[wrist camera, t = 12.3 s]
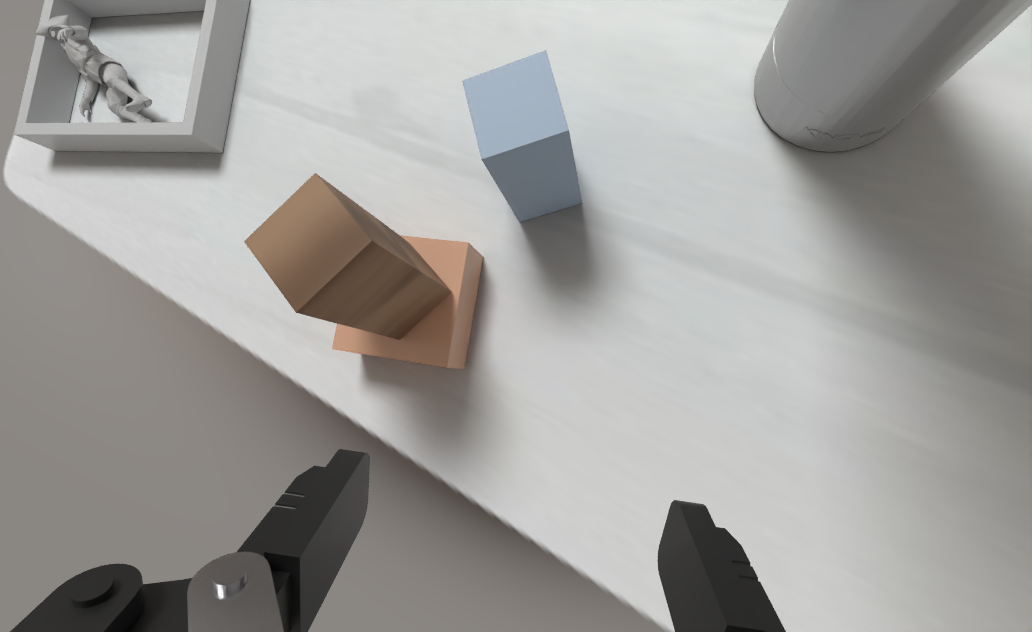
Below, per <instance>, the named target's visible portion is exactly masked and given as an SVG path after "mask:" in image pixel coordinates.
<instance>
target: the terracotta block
mask: <svg viewBox="0 0 1032 632" xmlns="http://www.w3.org/2000/svg"><path fill="white" fill-rule="evenodd" d="M401 237H402V238H404V239H405V240H406V241H408V242H409V243H410V244H411V245H412V246H413V247H414V249H415V250H416V251H417V252H418V253H419V254H420V255H421V257H422V258H423V259H424V260H425V261H426V262H427V264H428V265H429V266H430V267H431V268H432V269H433V270H434V272H435V273H436V274H437V275H438V276H439V277H440V279H441V280H442V281H443V282H444V283H445V284H446V285H447V287H448V288H449V289H450V290H451V291H452V292H451V293H450V294H449V295H448V296H447V297H446V298H444V299H443V300H442V301H441V302H440V303H439V304H438V305H437V306H436V307H435V308H434V309H433V310H432V311H431V312H429V313H428V314H427V315H426V316H425V317H424V318H423V319H422V320H421V321H420V322H419V323H418V324H417V325H415V326H414V327H413V328H412V329H411V330H410V331H409V332H408V333H407V334H406V335H405V336H404V337H403V338H402V339H400V340H397V339H394V338H390V337H386V336H382V335H379V334H375V333H371V332H367V331H364V330H360V329H356V328H352V327H349V326H345V325H341V324H337V327H336V332H335V337H334V342H333V348H332V349H335V350H341V351H347V352H353V353H359V354H365V355H371V356H377V357H384V358H390V359H396V360H402V361H408V362H414V363H420V364H426V365H432V366H438V367H444V368H455V369H465V364H466V358H467V352H468V346H469V340H470V334H471V328H472V322H473V316H474V310H475V304H476V298H477V292H478V286H479V280H480V274H481V268H482V262H483V256H482V255H481V254H480V253H479V252H478V251H477V250H476V249H475V248H473V247H472V246H471V245H470V244H469V243H467V242H457V241H448V240H438V239H429V238H419V237H410V236H401Z"/></svg>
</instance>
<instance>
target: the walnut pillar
mask: <svg viewBox="0 0 1032 632" xmlns="http://www.w3.org/2000/svg"><path fill="white" fill-rule="evenodd" d="M244 242H245V243H246V245H247V246H248V247H249V249H250V250H251V252H252V253H253V254H254V256H255V257H256V258H257V260H258V261H259V262H260V264H261V265H262V267H263V268H264V269H265V271H266V272H267V273H268V275H269V276H270V278H271V279H272V280H273V282H274V283H275V284H276V286H277V287H278V288H279V290H280V291H281V293H282V294H283V295H284V297H285V298H286V299H287V301H288V302H289V304H290V305H291V306H292V308H293V309H294V310H295V312H296V313H300V314H304V315H307V316H311V317H315V318H319V319H322V320H326V321H330V322H334V323H337V324H341V325H345V326H349V327H352V328H356V329H360V330H364V331H367V332H371V333H375V334H379V335H382V336H386V337H390V338H394V339H397V340H400V339H402V338H403V337H404V336H405V335H406V334H407V333H408V332H409V331H410V330H411V329H412V328H413V327H414V326H415V325H417V324H418V323H419V322H420V321H421V320H422V319H423V318H424V317H425V316H426V315H427V314H428V313H429V312H431V311H432V310H433V309H434V308H435V307H436V306H437V305H438V304H439V303H440V302H441V301H442V300H443V299H444V298H446V297H447V296H448V295H449V294H450V293H451V292H452V291H451V290H450V289H449V288H448V287H447V285H446V284H445V283H444V282H443V281H442V280H441V279H440V277H439V276H438V275H437V274H436V273H435V272H434V270H433V269H432V268H431V267H430V266H429V265H428V264H427V262H426V261H425V260H424V259H423V258H422V257H421V255H420V254H419V253H418V252H417V251H416V250H415V249H414V247H413V246H412V245H411V244H410V243H409V242H408V241H406V240H405V239H404V238H402V237H401V236H400V235H398V234H397V233H396V232H394V231H393V230H391V229H390V228H389V227H387V226H386V225H385V224H383V223H382V222H381V221H379V220H378V219H377V218H375V217H374V216H373V215H371V214H370V213H369V212H367V211H366V210H364V209H363V208H362V207H360V206H359V205H358V204H356V203H355V202H354V201H352V200H351V199H350V198H348V197H347V196H346V195H344V194H343V193H342V192H340V191H339V190H338V189H336V188H335V187H333V186H332V185H331V184H329V183H328V182H327V181H325V180H324V179H323V178H321V177H320V176H319V175H317V174H316V173H315V174H314V175H313V176H312V177H311V178H310V179H309V180H308V181H307V182H306V183H304V184H303V185H302V186H301V187H300V188H299V189H298V190H297V191H296V192H295V193H294V194H293V195H292V196H291V197H290V198H289V199H288V200H287V201H286V202H285V203H284V204H283V205H282V206H281V207H280V208H278V209H277V210H276V211H275V212H274V213H273V214H272V215H271V216H270V217H269V218H268V219H267V220H266V221H265V222H264V223H263V224H262V225H261V226H260V227H259V228H258V229H257V230H256V231H255V232H254V233H252V234H251V235H250V236H249V237H248V238H247V239H246V240H245V241H244Z"/></svg>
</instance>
